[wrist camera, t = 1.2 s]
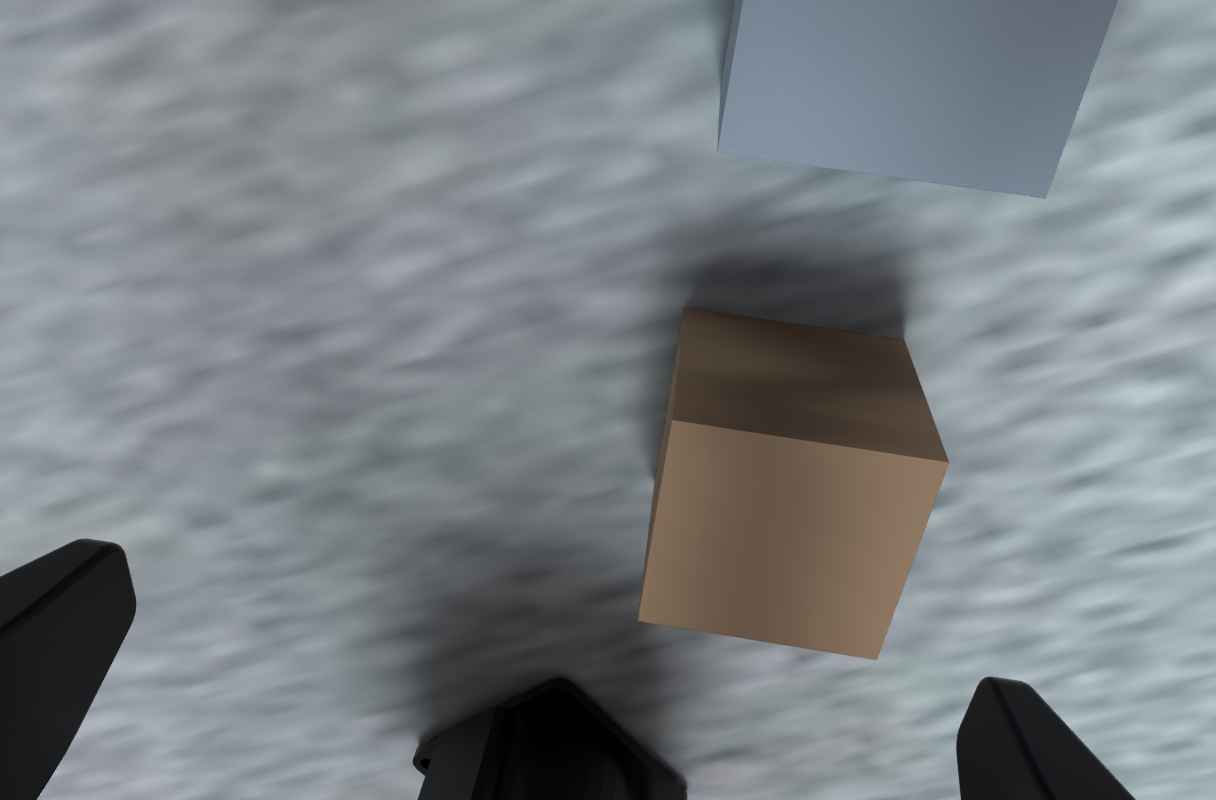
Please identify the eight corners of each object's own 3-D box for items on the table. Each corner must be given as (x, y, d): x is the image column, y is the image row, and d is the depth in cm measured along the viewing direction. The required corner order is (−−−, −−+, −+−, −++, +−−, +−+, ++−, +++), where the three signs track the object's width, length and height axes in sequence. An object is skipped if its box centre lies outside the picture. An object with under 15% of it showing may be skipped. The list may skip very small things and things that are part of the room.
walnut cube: (903, 338, 21) (949, 463, 16) (849, 513, 23) (876, 660, 19) (684, 306, 21) (672, 420, 17) (654, 482, 23) (637, 620, 19)
